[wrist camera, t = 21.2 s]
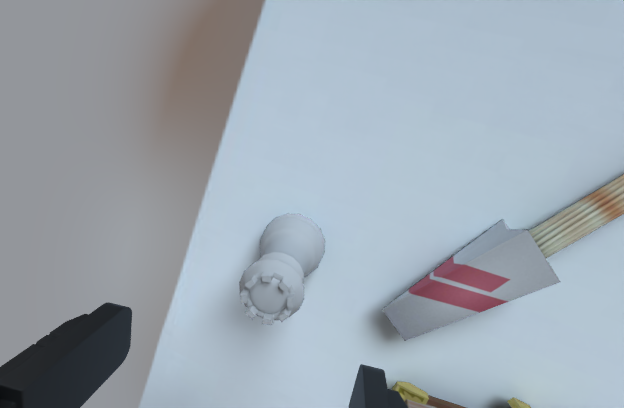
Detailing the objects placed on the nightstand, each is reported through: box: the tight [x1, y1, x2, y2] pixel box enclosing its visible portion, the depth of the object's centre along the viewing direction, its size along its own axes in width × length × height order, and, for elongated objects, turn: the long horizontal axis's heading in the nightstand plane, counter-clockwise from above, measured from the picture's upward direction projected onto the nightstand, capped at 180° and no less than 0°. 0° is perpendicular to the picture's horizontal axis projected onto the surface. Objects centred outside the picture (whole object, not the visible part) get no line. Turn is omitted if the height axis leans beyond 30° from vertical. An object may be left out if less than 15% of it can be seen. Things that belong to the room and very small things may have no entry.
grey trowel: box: [382, 175, 624, 341], centre depth 19 cm, size 4×3×20 cm
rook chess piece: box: [240, 213, 325, 325], centre depth 18 cm, size 4×4×8 cm
